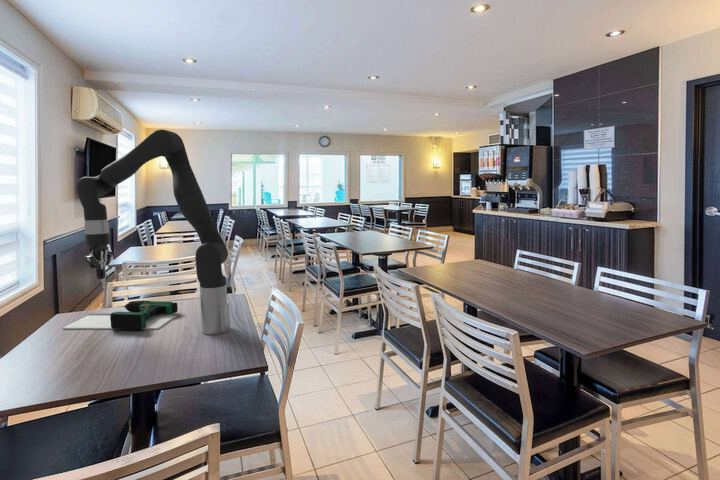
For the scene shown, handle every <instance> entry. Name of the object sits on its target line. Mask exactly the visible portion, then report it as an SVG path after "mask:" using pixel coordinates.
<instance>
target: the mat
mask: <svg viewBox="0 0 720 480" xmlns="http://www.w3.org/2000/svg"><path fill="white" fill-rule="evenodd" d="M110 315H111V313H88V315H87V316H84V317H81V319H78V320H76V321H74V322H72V323H70V324H66V325H65V326H64V327H62V330H113V329H112V328H111V320H110ZM176 317H178V313H173V314H166V313H161V314H155V315H153V316H152V317H150V318H148V319H146V321H147V322H146V327H145V328H144V329H143V330H159V329H161V328H162V327H164V326H165V325H166V324H168V323H169V322H171V321H172V320H174V319H175V318H176Z"/></svg>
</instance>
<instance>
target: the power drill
mask: <svg viewBox="0 0 720 480" xmlns="http://www.w3.org/2000/svg"><path fill="white" fill-rule="evenodd" d="M119 307H123V308H125V309H126V311H114V312H111V313H110V314H111V315H110V320H111V328H112V329H111V330H132V331H141V330H145V329H144V328H145V327H146V322H147V321H146V319H148V318H150V317H152V316H153V315H155V314H177V313H178V310H179V308H178V307H179V306H178V302H173V301H160V300H159V301H158V300H157V301H156V300H133V301H128V303H126V304H125V305H117V308H119Z"/></svg>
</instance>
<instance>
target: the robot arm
mask: <svg viewBox="0 0 720 480" xmlns="http://www.w3.org/2000/svg"><path fill="white" fill-rule="evenodd" d="M186 149H187V148H186V146H185V143H184V141H183V139H182V137H181V136H180V135H179V134H178V133H176V132H174V131H171V130H167V129H161V128H160V129H156V130H154V131H153V132H151V133H149V134H148V136H146V137H145V138H144V139H143V140H142V141H141V142H140V143H138V145H136V146H135V147H134V148H133V149H131V150H130V151H128V152H127V153H126V154H124V155H123V156H121V157H120V158H118V159H116V160H114V161H112V162H111V163H109V164H108V165H106V166H105V167H103V168H102V169H101V170H100V174H99V175H96V176H83V177H81V178H80V179H78V181H77V183H76V193H77V195H78V198H79V201H80V204H81V206H82V208H83V218H84V226H83V227H84V237H85V245H86V246H87V247H89V250H88V255H85V256H84V260H85V261H86V263H87V264H88V265H89V267H90V268H91V269H94V270H96V271H95V274H96V279H98V280H103V279H106V268H107V266H109V265H110V262H111V259H112V257H113V254H114V252H113V251H111V250H109V247H108V245H110V244H111V237H110V226H109V225H110V224H109V221H108V213H107V212H108V211H107V207H106V205H105V204H104V203H101V202H100V200H99V197H102V196H104V195H107V194H109V193H110V192H111V191H112V190H114V189H115V188H116V187H117V186H118V185H119V184H121V183H123V182H124V181H126V180H127V179H128V180H129V178H131V177H132V176H133V175H134V174H135V175H136V173H137V172H139V169H140V168H141V167H142V166H144V165H145V164H147V163H148V162H149V161H152V160H154V159H157V158H160V157H164V158H165V160H166V162H167V164H168V166H169V169H170V172H171V174H172V175H171V176H172V189H173V196H174V198H175V201H176V204H177V206H178V209H179V211H180V212H181V214H182V216H183V217H184V218H185V220H186V221H187V222H188V223H189V225H191V227H192V228H193V230H194V231H195V232H196V234H197V235H198V238H199V240H200V243H201V245H199V246H198V247H197V249H196V251H195V254H194V255H195V257H194V259H195V271H196V279H197V281H198V282H199V294H200V295H199V296H200V297H199V298H200V311H201V312H200V316H201V317H200V318H201V332H202V334H205V335H217V334H225V333H226V332H228V330H230V328H231V316H230V315H231V314H230V311H231V310H230V303H229V302H228V294H227V293H228V291H227V290H228V289H227V277H226V276H225V275H223V270H222V269H223V268H222V264H223V263H225V262H226V261H227V259H228V257H229V255H228V254H229V252H228V248H227V245H226V244H225V242H224V240H223V239H222V237H221V234H220V233H219V230H218V228H217V227H216V225H215V222H214V220H213V217H212V215H211V214H212V213H211V211H210V209H209V207H208V205H207V201H206V199H205V197H204V194H203V192H202V189H201V188H200V185H199V183H198V180H197V178H196V175H195V173H194V170H193V168H192V166H191V163H190V160H189V157H188V153H187V150H186Z"/></svg>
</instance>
